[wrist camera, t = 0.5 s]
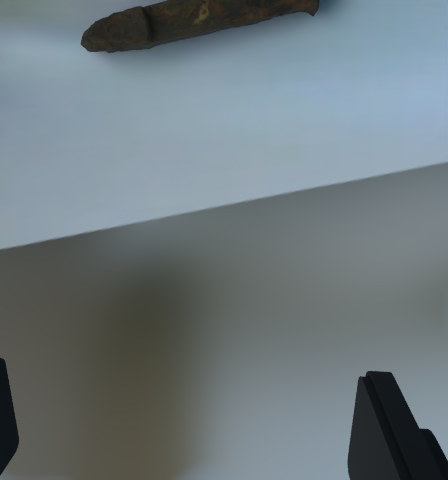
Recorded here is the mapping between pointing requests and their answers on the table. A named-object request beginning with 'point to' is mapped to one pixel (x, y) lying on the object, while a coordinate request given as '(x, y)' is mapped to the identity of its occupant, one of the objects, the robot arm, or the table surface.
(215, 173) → the table surface
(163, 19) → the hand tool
